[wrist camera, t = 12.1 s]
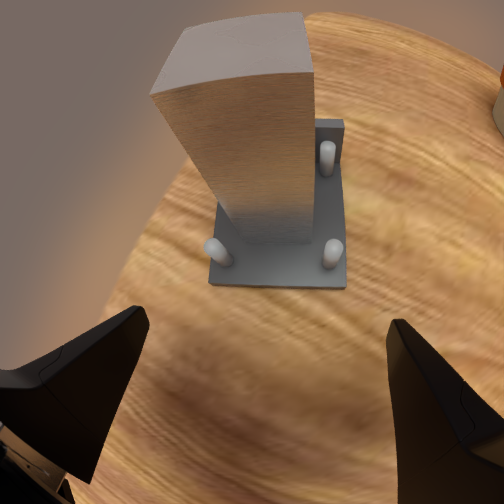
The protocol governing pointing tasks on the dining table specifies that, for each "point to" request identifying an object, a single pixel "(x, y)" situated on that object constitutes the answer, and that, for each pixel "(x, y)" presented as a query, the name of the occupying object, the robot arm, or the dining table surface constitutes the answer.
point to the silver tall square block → (248, 119)
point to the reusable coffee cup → (500, 106)
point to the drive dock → (291, 254)
